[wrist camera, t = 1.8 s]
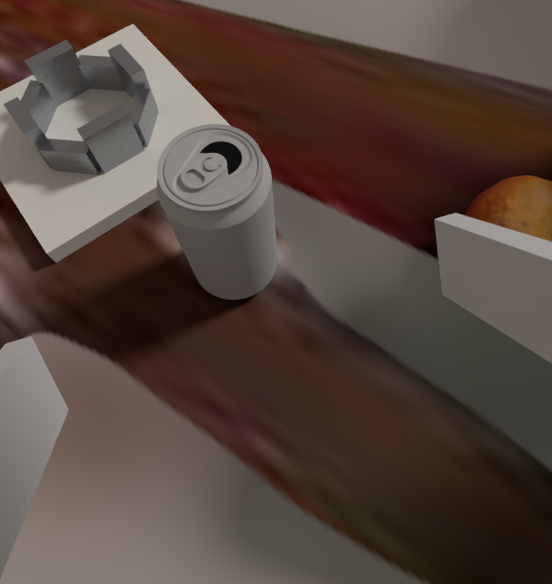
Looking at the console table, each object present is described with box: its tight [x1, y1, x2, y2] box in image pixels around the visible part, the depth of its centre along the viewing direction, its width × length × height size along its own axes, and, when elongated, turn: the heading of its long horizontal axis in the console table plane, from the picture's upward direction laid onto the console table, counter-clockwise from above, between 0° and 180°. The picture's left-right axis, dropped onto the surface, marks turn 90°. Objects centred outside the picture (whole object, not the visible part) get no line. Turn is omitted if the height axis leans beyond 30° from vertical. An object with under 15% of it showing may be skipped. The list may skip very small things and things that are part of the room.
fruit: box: [465, 175, 552, 242], centre depth 31 cm, size 8×8×8 cm
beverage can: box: [157, 124, 277, 300], centre depth 29 cm, size 6×6×12 cm
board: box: [0, 24, 230, 263], centre depth 39 cm, size 18×18×2 cm
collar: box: [3, 40, 159, 175], centre depth 37 cm, size 10×10×4 cm
